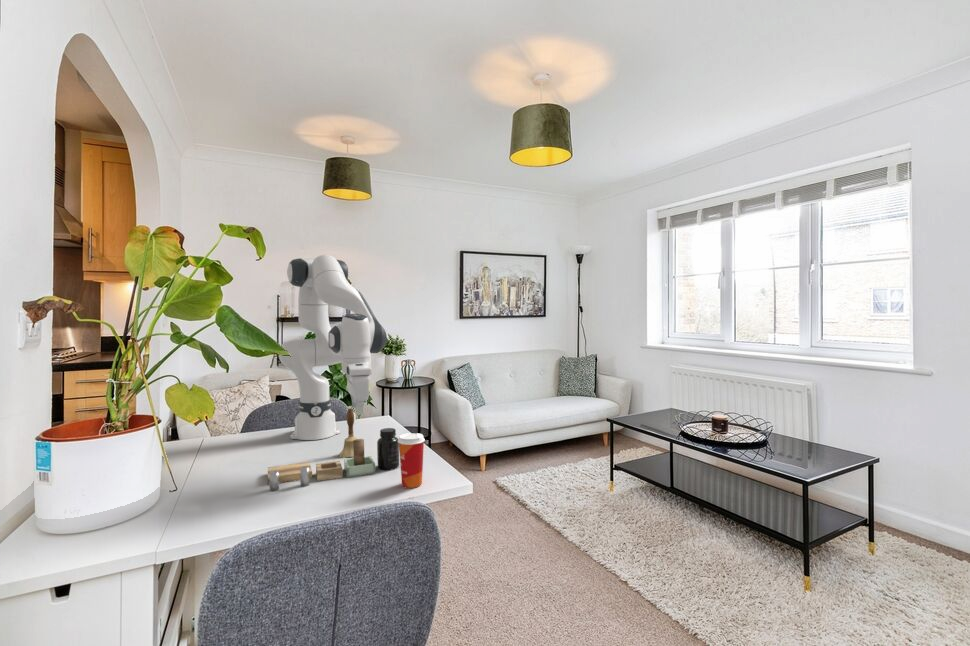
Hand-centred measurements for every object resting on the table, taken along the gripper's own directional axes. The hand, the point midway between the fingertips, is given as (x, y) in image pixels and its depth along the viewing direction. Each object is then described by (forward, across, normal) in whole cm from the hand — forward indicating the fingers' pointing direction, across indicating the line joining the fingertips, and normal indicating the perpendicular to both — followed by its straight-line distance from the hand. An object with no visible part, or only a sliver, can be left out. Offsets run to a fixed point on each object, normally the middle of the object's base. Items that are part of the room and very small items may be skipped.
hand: (357, 410), depth 143 cm
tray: (+19, 0, 0) cm, 19 cm away
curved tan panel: (+19, -5, -20) cm, 28 cm away
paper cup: (+19, +18, +12) cm, 29 cm away
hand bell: (+19, -19, 0) cm, 27 cm away
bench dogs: (+19, +5, -20) cm, 28 cm away
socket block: (+19, 0, -9) cm, 21 cm away
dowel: (+18, 0, 0) cm, 18 cm away
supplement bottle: (+19, 0, +9) cm, 21 cm away
